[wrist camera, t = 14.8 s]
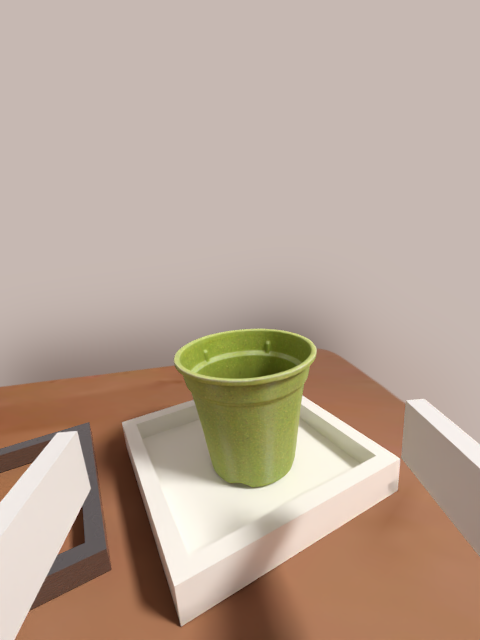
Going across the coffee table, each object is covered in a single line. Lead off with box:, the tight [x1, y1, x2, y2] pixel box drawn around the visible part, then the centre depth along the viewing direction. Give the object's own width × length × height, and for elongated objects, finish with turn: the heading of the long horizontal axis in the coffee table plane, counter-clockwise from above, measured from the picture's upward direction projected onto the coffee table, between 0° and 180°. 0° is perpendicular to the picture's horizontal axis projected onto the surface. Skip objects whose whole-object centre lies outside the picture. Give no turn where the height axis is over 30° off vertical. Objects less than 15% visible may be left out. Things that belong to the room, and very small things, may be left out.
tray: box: [122, 396, 400, 626], centre depth 24 cm, size 15×15×2 cm
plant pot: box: [174, 329, 316, 487], centre depth 23 cm, size 9×9×9 cm
